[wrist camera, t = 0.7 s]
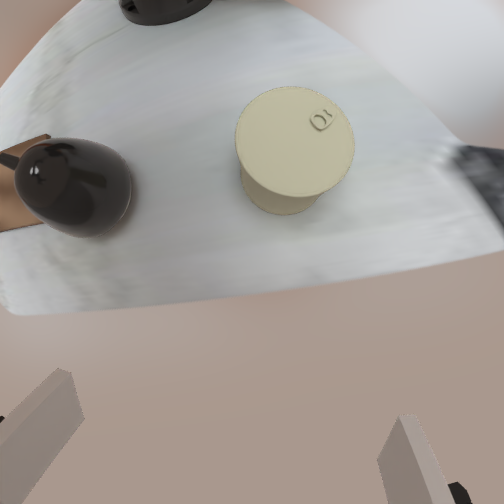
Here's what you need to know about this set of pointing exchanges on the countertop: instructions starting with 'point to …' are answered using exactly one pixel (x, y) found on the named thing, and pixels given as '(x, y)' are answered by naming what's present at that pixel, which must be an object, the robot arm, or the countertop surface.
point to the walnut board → (5, 197)
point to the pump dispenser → (72, 185)
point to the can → (292, 148)
